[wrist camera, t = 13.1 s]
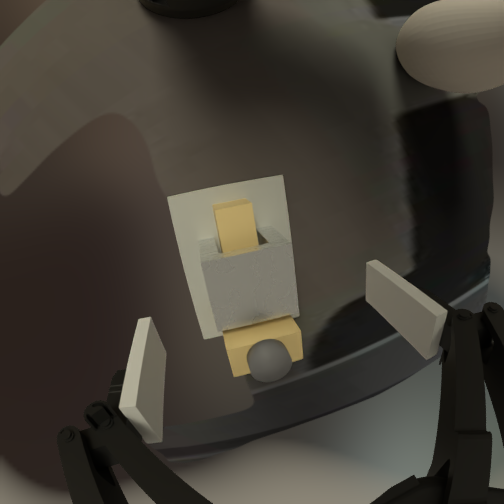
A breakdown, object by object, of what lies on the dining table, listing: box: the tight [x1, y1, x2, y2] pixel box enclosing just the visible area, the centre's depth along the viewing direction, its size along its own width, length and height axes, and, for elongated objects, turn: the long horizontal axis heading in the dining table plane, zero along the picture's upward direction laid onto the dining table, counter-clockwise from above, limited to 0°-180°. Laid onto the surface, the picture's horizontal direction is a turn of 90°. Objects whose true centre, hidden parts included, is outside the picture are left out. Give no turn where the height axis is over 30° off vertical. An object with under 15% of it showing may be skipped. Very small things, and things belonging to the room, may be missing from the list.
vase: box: [396, 0, 504, 93], centre depth 18 cm, size 14×14×30 cm
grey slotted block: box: [199, 225, 299, 332], centre depth 33 cm, size 8×9×8 cm
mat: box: [167, 175, 299, 339], centre depth 37 cm, size 20×14×1 cm
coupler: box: [212, 198, 303, 382], centre depth 31 cm, size 17×8×12 cm, turn 9°
